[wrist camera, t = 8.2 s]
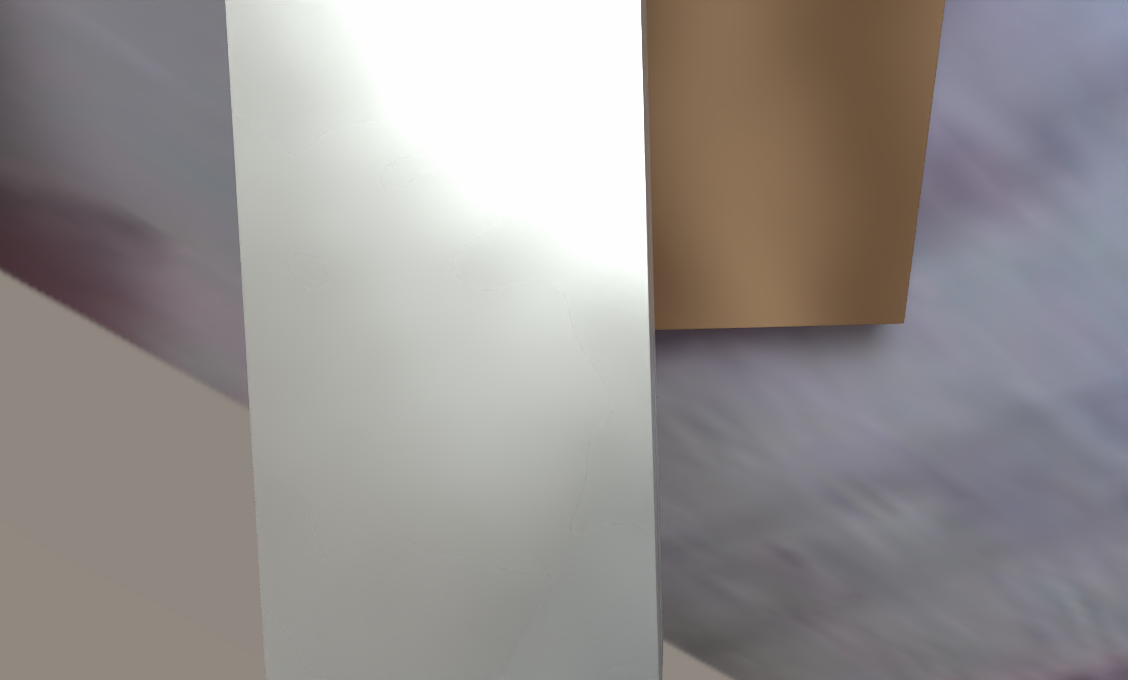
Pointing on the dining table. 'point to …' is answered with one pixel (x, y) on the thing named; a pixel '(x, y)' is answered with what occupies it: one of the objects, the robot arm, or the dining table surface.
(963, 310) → the dining table surface
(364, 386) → the lever
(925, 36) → the nutcracker bench
